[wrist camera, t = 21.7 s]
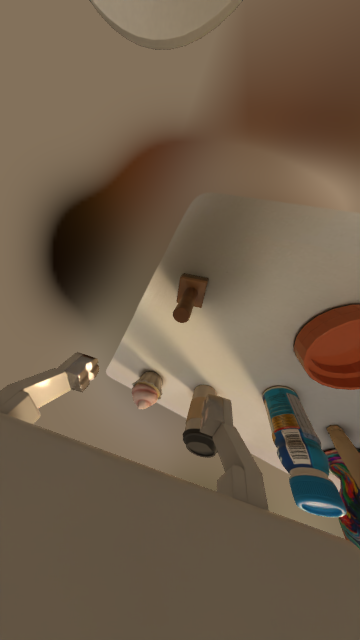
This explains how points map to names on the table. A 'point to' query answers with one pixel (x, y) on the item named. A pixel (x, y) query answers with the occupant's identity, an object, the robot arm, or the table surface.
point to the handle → (346, 451)
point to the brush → (189, 296)
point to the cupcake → (147, 390)
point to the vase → (347, 497)
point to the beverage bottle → (301, 454)
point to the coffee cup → (198, 425)
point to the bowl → (332, 348)
